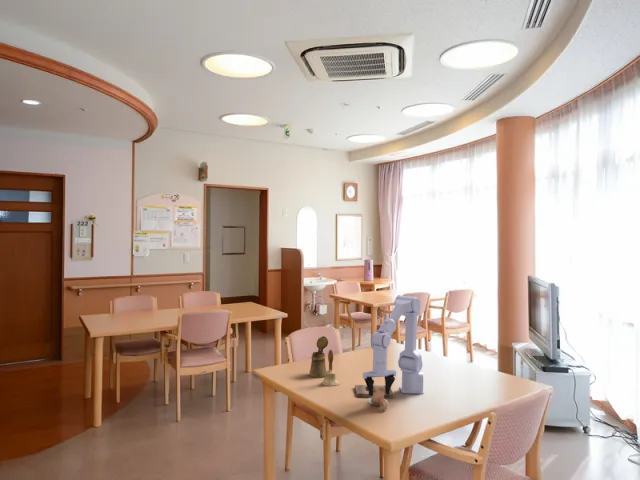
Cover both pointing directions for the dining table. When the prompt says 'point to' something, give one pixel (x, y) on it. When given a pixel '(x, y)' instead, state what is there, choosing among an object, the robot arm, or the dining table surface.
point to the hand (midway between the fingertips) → (378, 394)
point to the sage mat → (370, 400)
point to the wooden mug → (319, 359)
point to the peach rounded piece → (379, 397)
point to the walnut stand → (362, 392)
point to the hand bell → (330, 373)
